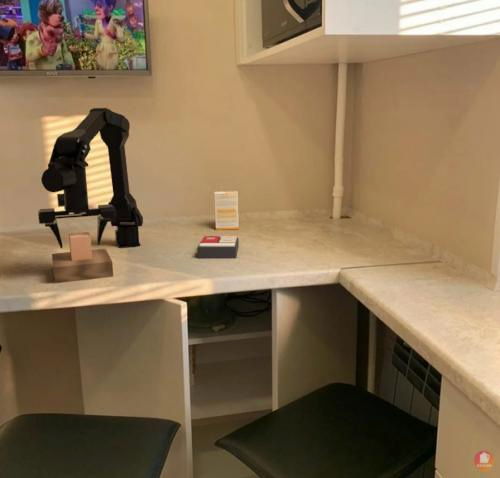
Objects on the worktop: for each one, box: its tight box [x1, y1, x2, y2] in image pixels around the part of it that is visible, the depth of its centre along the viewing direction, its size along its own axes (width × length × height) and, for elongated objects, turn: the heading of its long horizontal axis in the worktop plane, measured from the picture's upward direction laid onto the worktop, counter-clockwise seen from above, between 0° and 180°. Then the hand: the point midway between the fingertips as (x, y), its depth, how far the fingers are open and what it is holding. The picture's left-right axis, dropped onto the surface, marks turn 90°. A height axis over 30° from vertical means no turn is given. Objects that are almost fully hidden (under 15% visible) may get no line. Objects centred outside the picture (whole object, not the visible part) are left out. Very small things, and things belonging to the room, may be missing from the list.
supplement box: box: [213, 190, 240, 231], centre depth 193 cm, size 8×5×13 cm, turn 93°
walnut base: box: [51, 248, 114, 284], centre depth 144 cm, size 14×14×4 cm
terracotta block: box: [68, 231, 93, 261], centre depth 143 cm, size 5×5×6 cm
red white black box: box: [197, 235, 240, 260], centre depth 163 cm, size 11×4×15 cm
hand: (80, 246), depth 143 cm, fingers open, 9 cm apart
